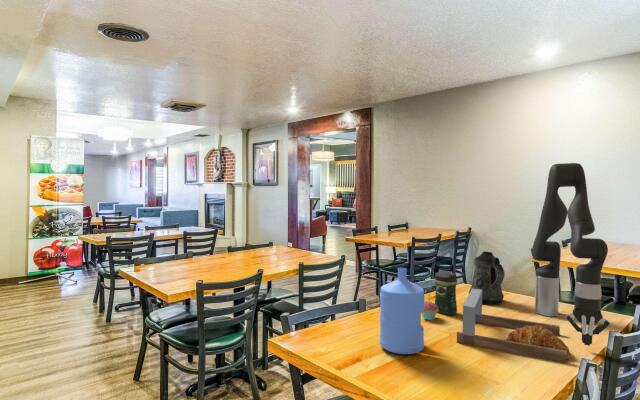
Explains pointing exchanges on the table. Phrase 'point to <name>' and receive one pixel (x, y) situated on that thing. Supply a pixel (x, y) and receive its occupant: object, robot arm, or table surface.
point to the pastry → (538, 338)
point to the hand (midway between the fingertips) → (586, 344)
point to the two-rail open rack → (474, 314)
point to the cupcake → (429, 309)
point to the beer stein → (488, 278)
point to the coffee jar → (446, 293)
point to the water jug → (401, 316)
